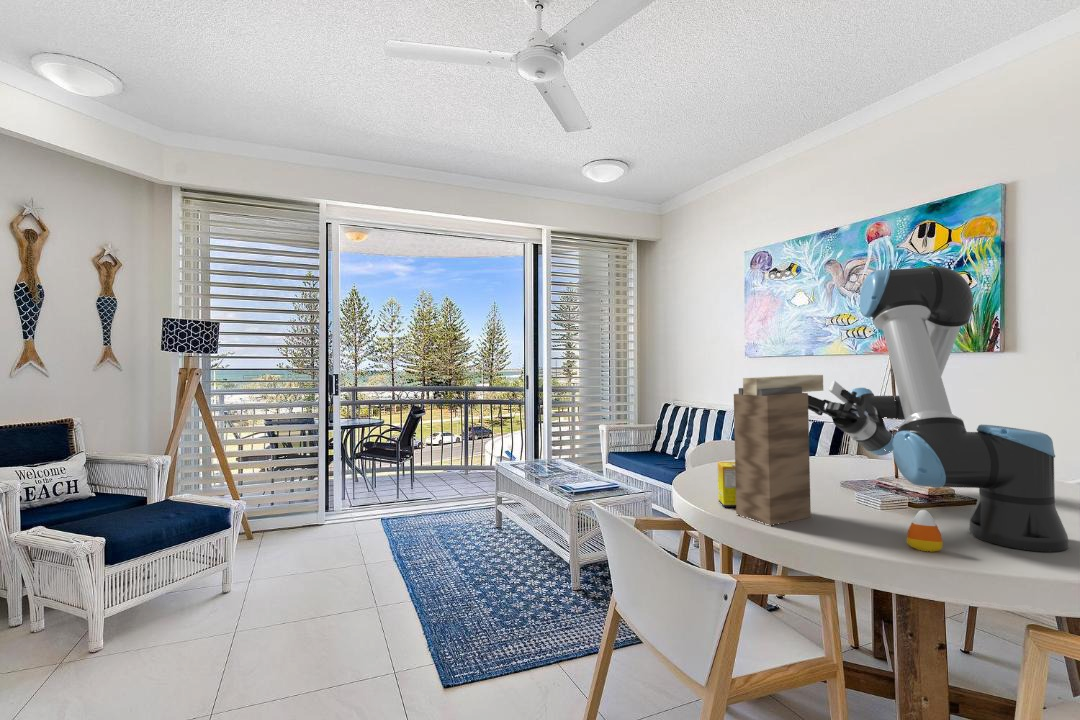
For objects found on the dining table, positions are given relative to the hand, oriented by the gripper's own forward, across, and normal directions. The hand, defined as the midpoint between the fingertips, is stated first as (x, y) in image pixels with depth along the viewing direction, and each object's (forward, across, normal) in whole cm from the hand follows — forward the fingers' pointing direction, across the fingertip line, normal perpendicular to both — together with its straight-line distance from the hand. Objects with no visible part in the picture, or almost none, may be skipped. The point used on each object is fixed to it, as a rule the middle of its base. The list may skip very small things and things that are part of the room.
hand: (807, 384), depth 135 cm
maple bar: (+7, -1, -6) cm, 10 cm away
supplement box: (-3, +11, -35) cm, 37 cm away
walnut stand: (-4, -1, -34) cm, 35 cm away
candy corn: (-10, -31, -31) cm, 45 cm away
